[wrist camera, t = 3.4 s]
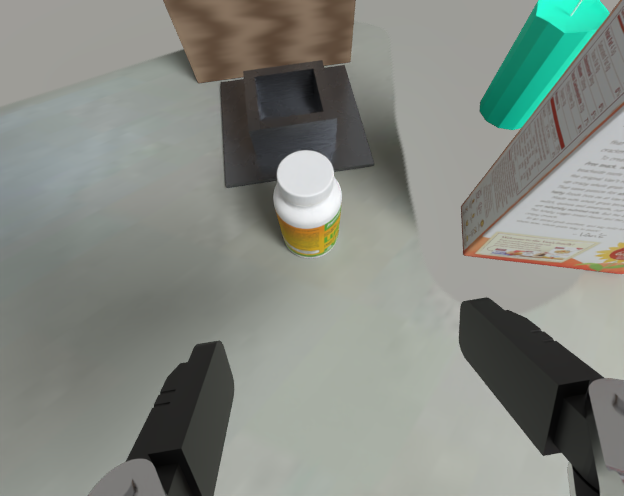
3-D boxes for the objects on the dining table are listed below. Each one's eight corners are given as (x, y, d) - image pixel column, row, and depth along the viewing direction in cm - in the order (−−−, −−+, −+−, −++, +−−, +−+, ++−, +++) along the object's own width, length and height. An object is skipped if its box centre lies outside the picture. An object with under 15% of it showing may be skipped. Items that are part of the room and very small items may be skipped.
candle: (487, 86, 36) (558, -39, 26) (538, 102, 35) (636, -23, 24) (472, 118, 35) (541, -2, 24) (525, 137, 33) (625, 18, 22)
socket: (226, 187, 32) (214, 164, 28) (221, 85, 38) (211, 55, 35) (373, 165, 32) (379, 139, 29) (344, 68, 39) (346, 36, 35)
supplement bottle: (331, 265, 28) (335, 212, 19) (277, 253, 29) (256, 197, 20) (343, 216, 30) (351, 148, 21) (291, 206, 31) (278, 136, 22)
